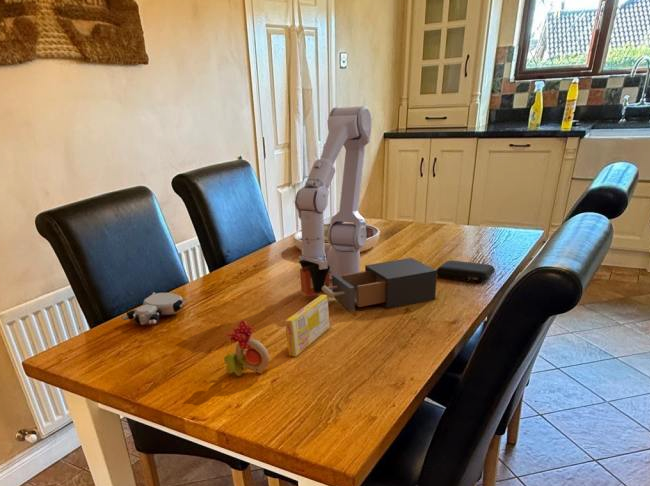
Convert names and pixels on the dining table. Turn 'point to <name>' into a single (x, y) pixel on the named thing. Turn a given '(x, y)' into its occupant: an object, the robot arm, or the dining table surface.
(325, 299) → the candy box
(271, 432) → the dining table surface
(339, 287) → the drawer
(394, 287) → the cabinet
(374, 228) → the bowl
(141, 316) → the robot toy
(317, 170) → the robot arm
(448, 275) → the carrying case
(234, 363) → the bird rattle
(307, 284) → the ridged terracotta block
